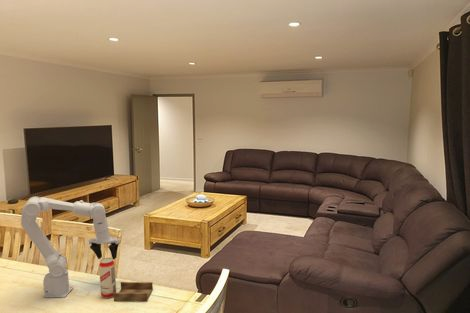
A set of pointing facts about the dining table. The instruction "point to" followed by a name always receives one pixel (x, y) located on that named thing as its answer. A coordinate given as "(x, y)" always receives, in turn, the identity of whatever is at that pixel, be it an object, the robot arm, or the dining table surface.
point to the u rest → (134, 291)
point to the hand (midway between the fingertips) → (107, 258)
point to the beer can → (107, 277)
